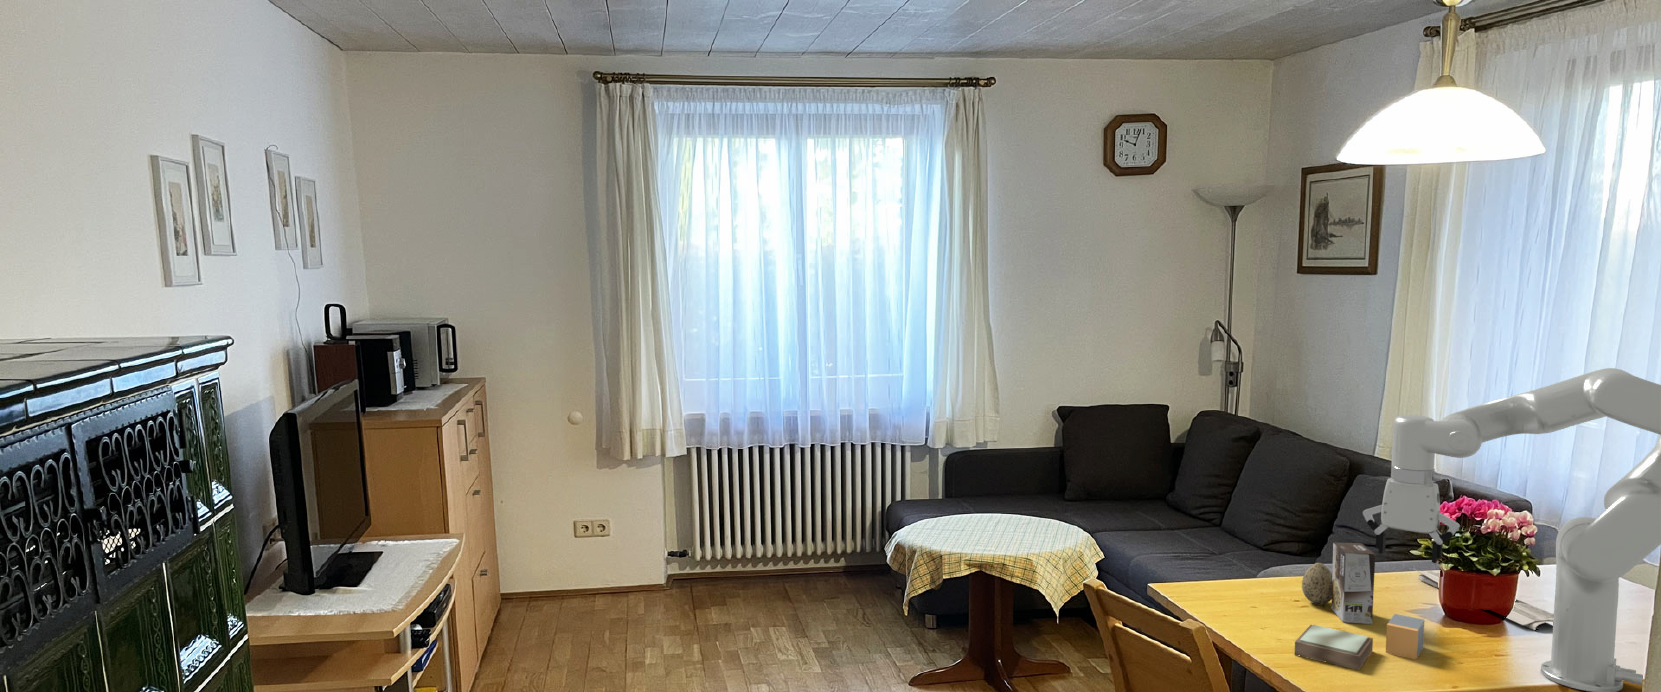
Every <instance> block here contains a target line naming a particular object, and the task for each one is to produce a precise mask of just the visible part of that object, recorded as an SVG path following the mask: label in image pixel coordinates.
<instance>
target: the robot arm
mask: <svg viewBox="0 0 1661 692" xmlns="http://www.w3.org/2000/svg"><path fill="white" fill-rule="evenodd" d="M1605 417H1607V418H1610V419H1611V420H1614V421H1618V422H1620V423H1623V424H1626V425H1628V426H1632V427H1635V428H1638V429H1641V430H1643V431H1647V432H1650V433H1651V432H1652V433H1654V434H1657V435H1659V437H1658V440H1657V443H1656V444H1655V445H1654V447H1653V448H1652V450H1651V451H1650V452H1649V453H1648V454H1647V455H1645V457H1644V458H1643V459H1642V460H1641V461H1640V462H1639V463H1637V464H1636V465H1635V466H1634V467H1633V468H1632V469H1631V470H1630V471H1629V472H1628V473H1626V474H1625V475H1623V477H1621V478H1620V479H1619V480H1618V481H1617V482H1615V483H1614V484H1613V485H1612V486H1611V487H1610V488H1609V489H1608V490H1607V491H1606V493H1605V495H1604V496H1603V506H1604V508H1605V510H1604V511H1603V512H1602V513H1601V514H1600V515H1599V516H1597V518H1595V517H1594V518H1593V517H1589V516H1581V517H1580V516H1579V517H1575V518H1571V519H1570V520H1567V522H1565V523H1564V524H1563V525H1562V526H1561V527H1560V528H1559V530H1558V533H1557V535H1556V539H1555V541H1556V542H1555V563H1556V564H1555V566H1556V567H1555V569H1556V571H1555V574H1556V575H1555V590H1554V591H1555V593H1554V603H1553V604H1554V606H1553V608H1554V609H1553V614H1554V620H1553V627H1552V639H1551V654H1550V655H1551V659H1550V660H1547V661H1544V662H1543V663H1541V664H1540V672H1541V674H1542V675H1543V676H1544V677H1545V678H1547V679H1549V680H1550V681H1553V682H1554V683H1557V684H1559V685H1562V686H1565V687H1568V688H1572V689H1576V690H1581V691H1586V692H1619V691H1621V690H1623V688H1624V681H1625V682H1629V683H1631V684H1636V685H1640V686H1643V685H1642V679H1643V675H1644V674H1641V673H1637V670H1636V669H1635V670H1634V669H1632V668H1625V667H1621V666H1620V665H1618V664H1617V658H1615V651H1616V649H1615V647H1616V634H1617V632H1616V631H1617V619H1618V606H1619V604H1618V603H1619V588H1620V587H1619V585H1620V583H1619V581H1620V579H1619V578H1622V577H1623V576H1625V575H1626V574H1627V573H1629V572H1631V570H1632V569H1634V568H1635V567H1636V566H1637V565H1639V564H1640V563H1641V562H1643V560H1644V559H1646V558H1647V557H1648V556H1649V555H1650V554H1651V553H1653V552H1654V551H1655V550H1656V549H1658V548H1659V547H1660V546H1661V384H1660V383H1655V382H1652V381H1649V380H1647V379H1644V378H1641V377H1639V376H1635V375H1633V374H1631V373H1630V372H1627V371H1625V370H1623V369H1620V368H1615V367H1614V368H1613V367H1608V368H1603V369H1602V368H1601V369H1599V370H1595V371H1591V372H1590V371H1589V372H1587V373H1585V374H1581V375H1578V376H1575V377H1574V376H1573V377H1572V378H1569V379H1566V380H1562V381H1560V382H1556V383H1553V384H1550V385H1546V386H1544V387H1539V388H1536V389H1532V390H1529V391H1527V392H1523V393H1519V394H1515V395H1512V396H1508V397H1504V398H1500V399H1496V400H1493V401H1488V402H1486V403H1481V404H1479V405H1476V406H1472V407H1468V408H1466V409H1463V410H1459V411H1456V412H1453V413H1450V414H1448V415H1446V416H1444V417H1442V419H1441V420H1439V421H1438V420H1434V419H1433V418H1431V417H1429V416H1424V415H1414V414H1403V415H1398V416H1396V417H1395V419H1394V420H1393V426H1392V427H1393V428H1392V449H1391V450H1392V451H1391V471H1390V478H1387V479H1386V484H1385V487H1384V491H1383V498H1382V503H1381V504H1380V505H1377V506H1373V507H1370V508H1366V509H1364V510H1363V511H1362V515H1363V517H1364V519H1365V521H1366V524H1367V526H1369V528H1371V529H1372V530H1373V532H1374V534H1375V549H1378V554H1379V555H1382V554H1384V553H1385V552H1386V544H1387V543H1386V542H1387V540H1386V539H1387V533H1386V532H1385V531H1386V530H1387V529H1388V528H1390V529H1395V530H1396V529H1397V530H1400V531H1409V532H1414V533H1420V534H1429V535H1430V538H1431V539H1433V541H1434V542H1433V543H1432V548H1431V549H1432V550H1431V563H1432V564H1437V562H1438V561H1439V560H1441V559H1442V558H1443V544H1444V543H1445V542H1447V541H1448V540H1450V539H1451V538H1452V537H1454V535H1455V533H1456V532H1457V531H1458V529H1460V526H1461V525H1460V524H1459V523H1458V522H1457V521H1455V520H1453V519H1452V518H1450V517H1448V516H1446V515H1444V514H1443V513H1441V501H1440V498H1441V497H1440V491H1439V490H1440V489H1439V485H1438V483H1436V482H1435V481H1443V479H1442V478H1443V473H1438V471H1436V470H1435V469H1436V468H1435V457H1436V456H1435V455H1441V456H1445V457H1451V458H1457V459H1463V458H1465V459H1466V458H1469V457H1471V456H1473V455H1475V454H1477V453H1478V451H1480V449H1481V447H1482V445H1483V444H1482V443H1486V442H1488V441H1493V440H1496V439H1501V438H1504V437H1509V436H1514V435H1515V436H1516V435H1523V434H1525V435H1526V434H1527V435H1528V434H1529V435H1542V434H1544V435H1545V434H1551V433H1553V432H1554V433H1555V432H1557V431H1561V430H1564V429H1568V428H1570V427H1574V426H1577V425H1580V424H1585V423H1587V422H1591V421H1595V420H1598V419H1602V418H1605ZM1376 514H1380V523H1381V524H1379V523H1378V521H1376V520H1375V519H1374V517H1373V515H1376ZM1441 523H1442V524H1444V525H1446V527H1448V530H1447V531H1446V532H1444V533H1441V532H1440V531H1439V528H1440V524H1441Z"/></svg>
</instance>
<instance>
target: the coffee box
mask: <svg viewBox="0 0 1661 692" xmlns="http://www.w3.org/2000/svg"><path fill="white" fill-rule="evenodd" d="M1332 547H1333V548H1332V572H1331V574H1332V600H1331V605H1330V606H1331V607H1330V609H1331V610H1332V611H1333V613H1335V615H1336V616H1337V617H1338V618H1339V620H1341V622H1343V623H1350V624H1364V625H1373V613H1374V595H1375V594H1374V593H1375V591H1374V589H1375V570H1376V553H1375V552H1373V551H1372V550H1371V549H1369V548H1368V547H1367V546H1366V545H1365V544H1364V543H1360V542H1333V544H1332Z"/></svg>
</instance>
